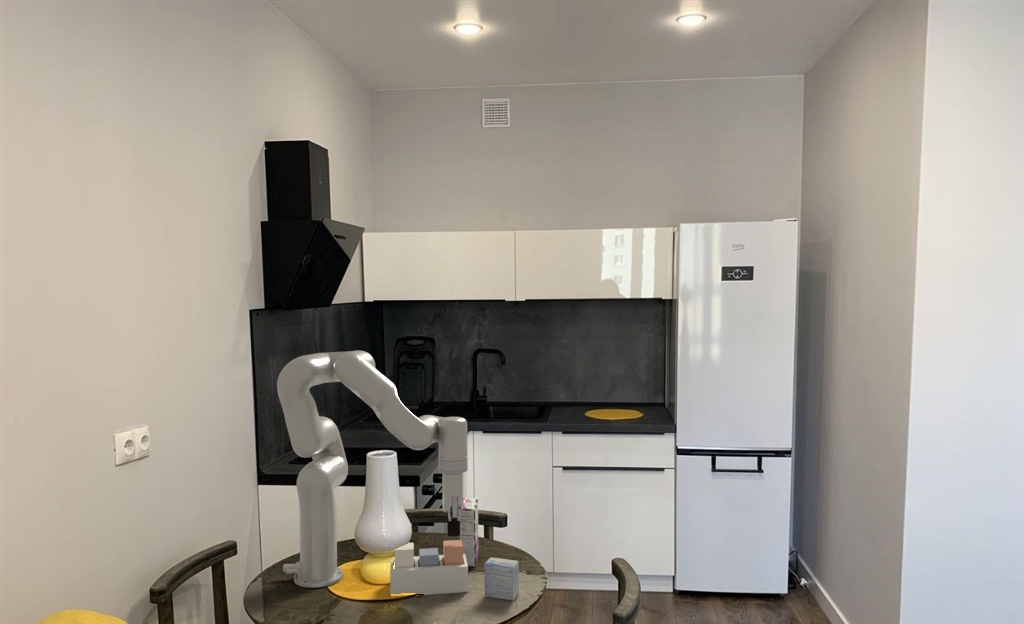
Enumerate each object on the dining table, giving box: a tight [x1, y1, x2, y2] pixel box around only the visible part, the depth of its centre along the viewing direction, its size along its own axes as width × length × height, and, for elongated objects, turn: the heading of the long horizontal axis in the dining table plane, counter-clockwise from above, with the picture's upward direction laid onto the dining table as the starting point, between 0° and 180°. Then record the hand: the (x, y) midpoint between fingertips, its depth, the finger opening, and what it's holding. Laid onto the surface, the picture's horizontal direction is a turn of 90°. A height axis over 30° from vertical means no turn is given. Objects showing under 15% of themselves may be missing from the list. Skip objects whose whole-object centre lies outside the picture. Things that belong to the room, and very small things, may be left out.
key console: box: [389, 554, 469, 596], centre depth 172 cm, size 20×9×6 cm, turn 99°
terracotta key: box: [442, 539, 463, 565], centre depth 173 cm, size 5×5×6 cm
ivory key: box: [394, 542, 415, 568], centre depth 171 cm, size 5×5×6 cm
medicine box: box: [483, 556, 520, 602], centre depth 167 cm, size 8×4×9 cm, turn 71°
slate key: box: [418, 547, 440, 567], centre depth 172 cm, size 5×5×6 cm
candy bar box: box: [458, 497, 480, 568], centre depth 191 cm, size 11×5×16 cm, turn 179°
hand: (453, 534), depth 173 cm, fingers closed
